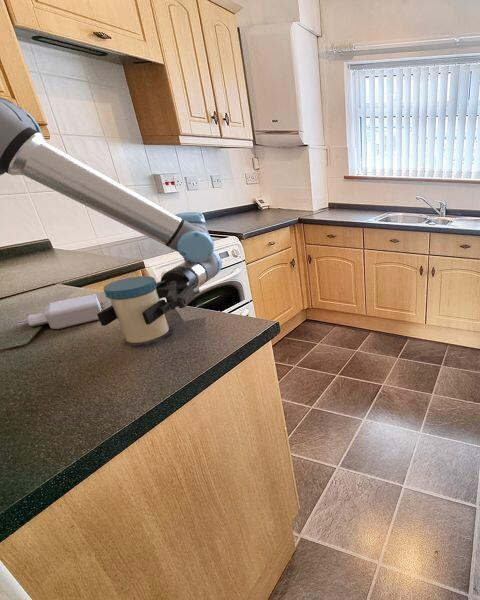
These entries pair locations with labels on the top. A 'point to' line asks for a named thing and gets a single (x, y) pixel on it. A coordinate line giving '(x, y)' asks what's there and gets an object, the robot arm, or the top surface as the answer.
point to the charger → (67, 313)
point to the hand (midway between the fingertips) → (123, 319)
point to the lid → (130, 287)
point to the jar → (139, 318)
